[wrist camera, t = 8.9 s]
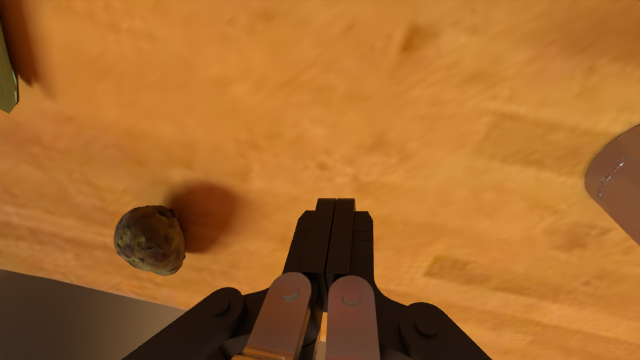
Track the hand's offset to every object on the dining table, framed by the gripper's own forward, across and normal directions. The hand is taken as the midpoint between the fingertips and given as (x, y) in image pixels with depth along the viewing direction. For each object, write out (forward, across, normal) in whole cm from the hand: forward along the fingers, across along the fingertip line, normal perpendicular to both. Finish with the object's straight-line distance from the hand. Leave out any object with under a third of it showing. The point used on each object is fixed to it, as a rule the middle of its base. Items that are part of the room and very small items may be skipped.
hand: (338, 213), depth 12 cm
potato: (+14, +24, +15) cm, 32 cm away
